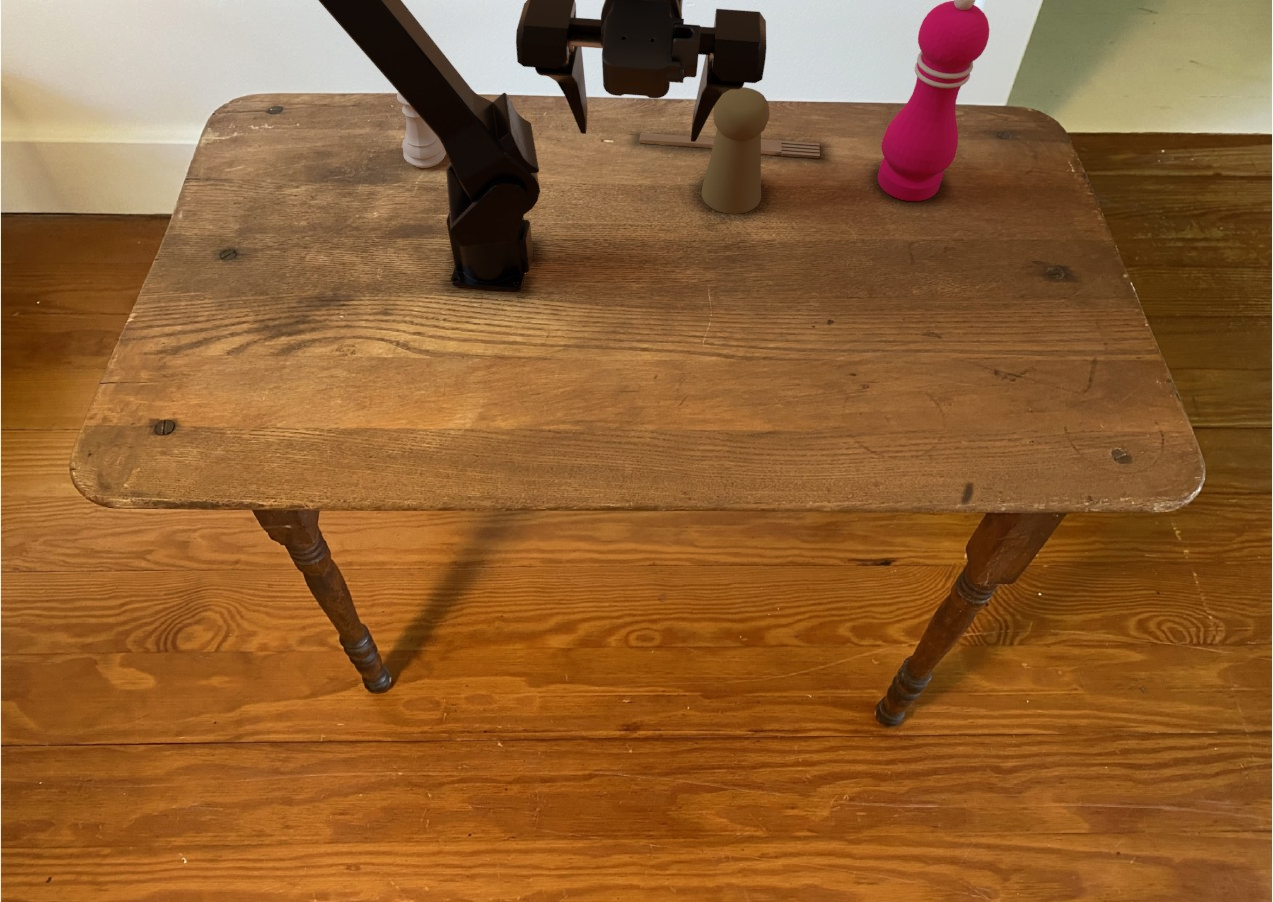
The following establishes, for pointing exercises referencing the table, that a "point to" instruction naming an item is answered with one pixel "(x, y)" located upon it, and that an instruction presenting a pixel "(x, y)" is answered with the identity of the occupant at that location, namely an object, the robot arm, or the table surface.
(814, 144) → the fork
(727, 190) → the tan cone-shaped piece
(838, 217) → the table surface
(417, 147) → the rook chess piece
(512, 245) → the robot arm
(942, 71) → the pepper mill
